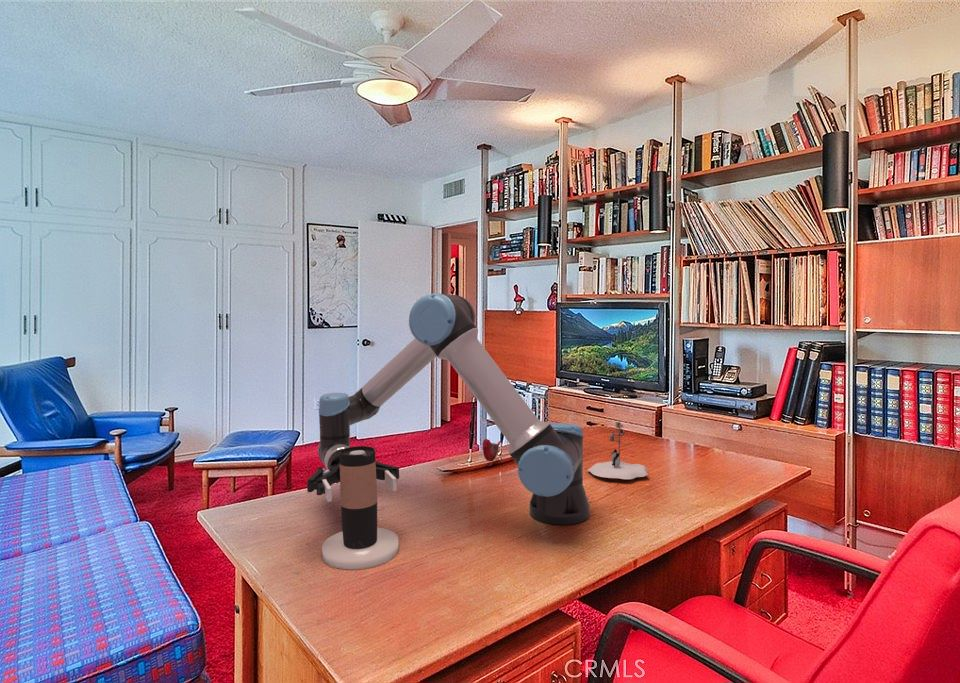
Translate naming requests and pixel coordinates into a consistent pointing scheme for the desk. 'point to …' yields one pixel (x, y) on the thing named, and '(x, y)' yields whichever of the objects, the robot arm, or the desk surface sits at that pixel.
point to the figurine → (618, 464)
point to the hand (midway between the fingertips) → (363, 489)
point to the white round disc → (360, 551)
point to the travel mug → (358, 496)
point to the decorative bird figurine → (490, 450)
